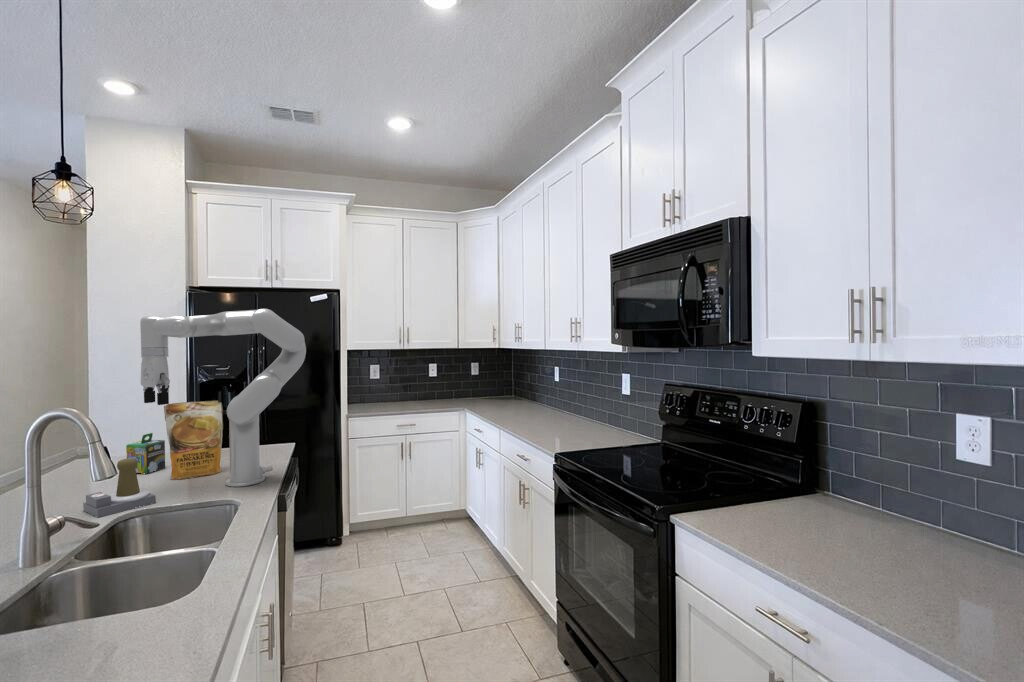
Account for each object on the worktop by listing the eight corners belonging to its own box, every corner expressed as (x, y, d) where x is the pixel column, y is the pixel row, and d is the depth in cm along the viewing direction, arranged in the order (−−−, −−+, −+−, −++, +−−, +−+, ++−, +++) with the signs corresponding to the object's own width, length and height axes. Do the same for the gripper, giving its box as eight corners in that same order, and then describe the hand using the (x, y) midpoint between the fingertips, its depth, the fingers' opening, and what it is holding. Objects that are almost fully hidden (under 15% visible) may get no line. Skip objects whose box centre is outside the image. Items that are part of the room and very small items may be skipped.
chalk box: (146, 467, 204) (145, 431, 204) (166, 468, 203) (165, 431, 203) (125, 474, 195) (124, 435, 195) (146, 474, 194) (145, 436, 194)
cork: (144, 490, 162) (143, 456, 162) (128, 497, 156) (127, 461, 156) (127, 490, 163) (126, 456, 163) (110, 496, 157) (109, 461, 157)
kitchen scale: (140, 497, 167) (140, 481, 167) (155, 502, 161) (155, 486, 161) (83, 510, 154) (83, 493, 154) (97, 517, 148) (97, 499, 148)
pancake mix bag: (165, 477, 189) (163, 403, 189) (223, 469, 200) (222, 398, 200) (165, 482, 184) (163, 405, 183) (225, 473, 195) (224, 400, 194)
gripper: (130, 353, 172) (132, 403, 172) (154, 353, 163) (155, 406, 163) (155, 352, 178) (157, 400, 179) (179, 352, 169) (181, 403, 169)
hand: (156, 403), depth 171 cm, fingers open, 9 cm apart
